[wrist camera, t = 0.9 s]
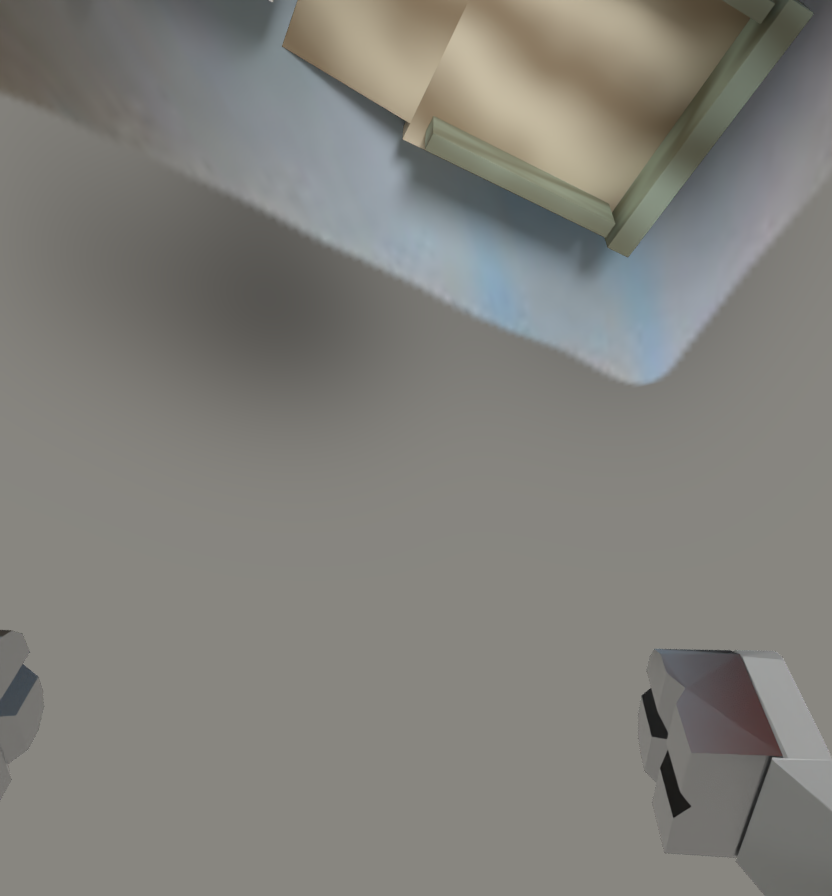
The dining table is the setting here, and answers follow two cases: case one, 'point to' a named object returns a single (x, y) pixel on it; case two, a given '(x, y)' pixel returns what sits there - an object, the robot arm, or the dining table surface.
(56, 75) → the dining table surface
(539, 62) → the dock
